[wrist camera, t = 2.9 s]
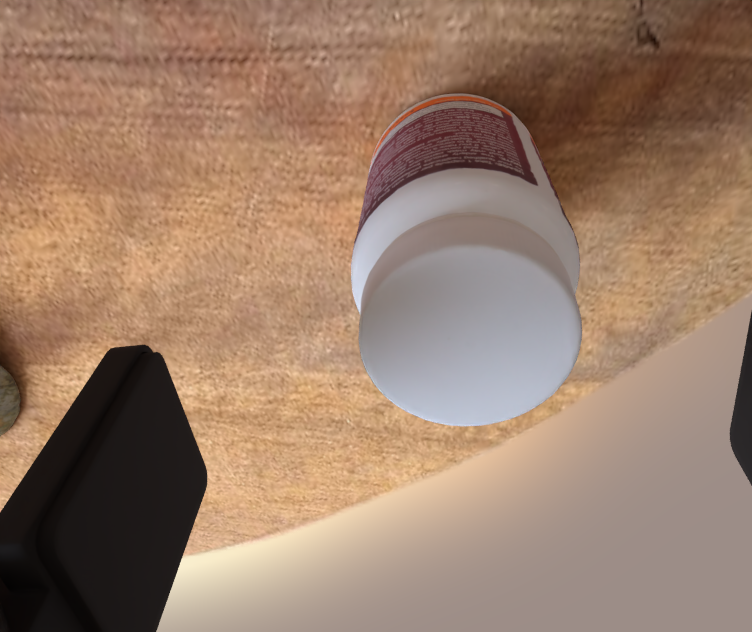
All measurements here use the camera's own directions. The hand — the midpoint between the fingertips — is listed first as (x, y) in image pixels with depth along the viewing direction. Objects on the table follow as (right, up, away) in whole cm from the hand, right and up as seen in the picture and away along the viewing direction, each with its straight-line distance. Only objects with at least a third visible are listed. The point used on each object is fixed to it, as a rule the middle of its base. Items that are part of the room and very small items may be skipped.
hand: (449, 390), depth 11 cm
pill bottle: (+1, +5, +8) cm, 10 cm away
